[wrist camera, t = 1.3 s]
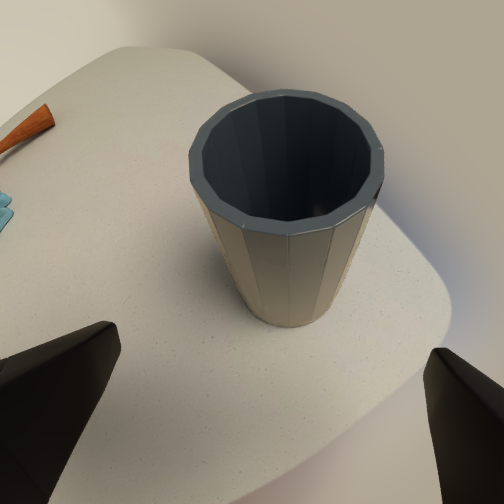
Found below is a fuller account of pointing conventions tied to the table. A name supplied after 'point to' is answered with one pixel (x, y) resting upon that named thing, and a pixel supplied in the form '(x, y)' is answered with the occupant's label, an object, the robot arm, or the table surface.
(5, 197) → the chair
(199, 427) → the table surface
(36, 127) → the kendama
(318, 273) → the cup
